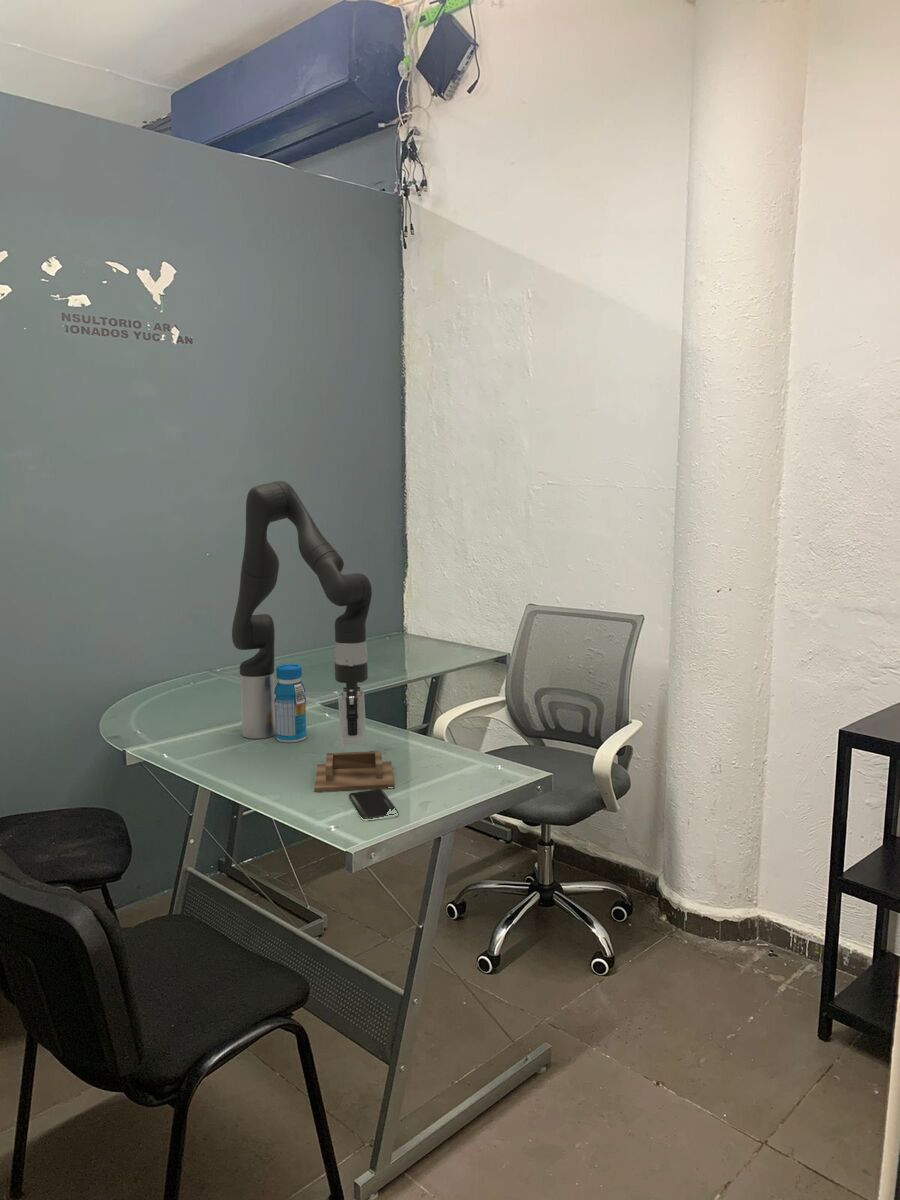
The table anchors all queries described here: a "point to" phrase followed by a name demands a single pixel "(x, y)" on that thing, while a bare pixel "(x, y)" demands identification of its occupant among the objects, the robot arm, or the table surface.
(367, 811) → the phone
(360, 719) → the skincare box
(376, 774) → the u rest
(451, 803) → the table surface
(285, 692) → the beverage bottle
